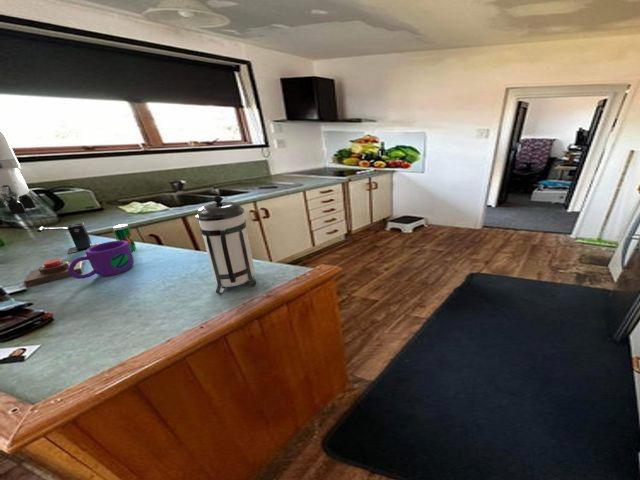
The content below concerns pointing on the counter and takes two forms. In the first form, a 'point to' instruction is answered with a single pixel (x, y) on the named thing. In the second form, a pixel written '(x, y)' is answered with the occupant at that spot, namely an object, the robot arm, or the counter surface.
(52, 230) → the lever
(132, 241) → the soda can
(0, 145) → the robot arm
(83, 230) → the switch bracket
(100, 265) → the mug
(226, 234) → the coffee press
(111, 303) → the counter surface
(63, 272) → the lamp base
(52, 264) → the lamp button
